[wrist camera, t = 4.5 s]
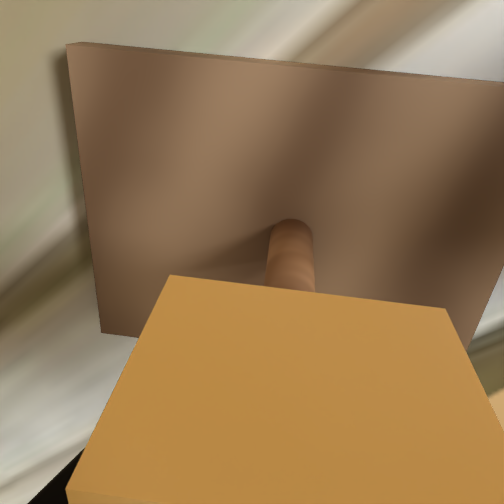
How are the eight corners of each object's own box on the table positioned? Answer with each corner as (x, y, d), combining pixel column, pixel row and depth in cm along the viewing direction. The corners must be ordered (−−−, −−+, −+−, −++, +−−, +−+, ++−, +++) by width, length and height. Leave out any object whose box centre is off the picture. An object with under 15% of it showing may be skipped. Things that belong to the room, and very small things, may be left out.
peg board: (557, 87, 14) (714, 137, 9) (447, 358, 20) (499, 486, 15) (82, 41, 15) (-42, 61, 10) (111, 316, 21) (46, 423, 16)
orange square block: (445, 308, 8) (565, 562, 5) (381, 477, 11) (422, 724, 7) (169, 274, 9) (65, 488, 5) (172, 447, 11) (107, 672, 7)
